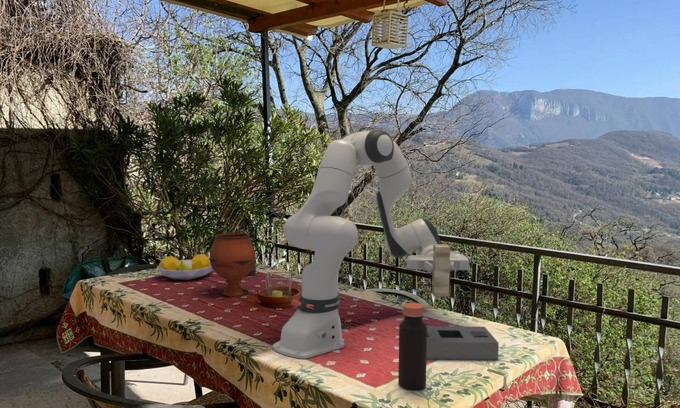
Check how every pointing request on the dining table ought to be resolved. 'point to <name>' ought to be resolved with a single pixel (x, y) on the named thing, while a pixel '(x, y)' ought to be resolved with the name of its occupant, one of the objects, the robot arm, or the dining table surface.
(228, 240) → the goblet
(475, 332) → the socket block
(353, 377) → the dining table surface
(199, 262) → the fruit bowl
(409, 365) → the bottle
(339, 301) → the pliers
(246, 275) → the jar
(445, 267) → the birch peg
